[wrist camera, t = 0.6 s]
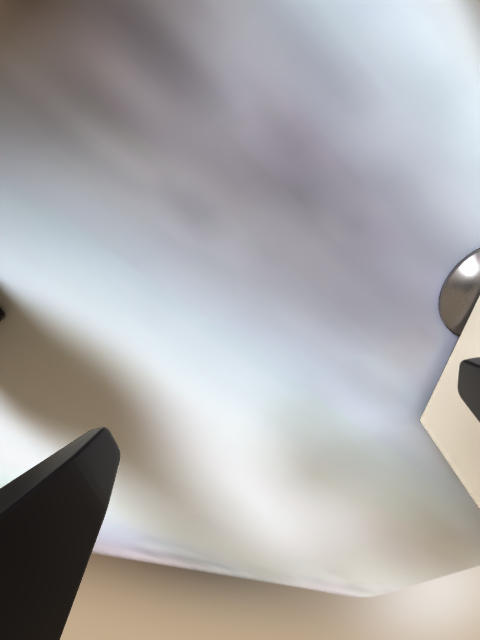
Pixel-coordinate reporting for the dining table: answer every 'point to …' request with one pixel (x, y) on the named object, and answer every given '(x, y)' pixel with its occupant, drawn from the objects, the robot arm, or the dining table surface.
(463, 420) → the lever
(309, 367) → the dining table surface
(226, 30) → the dining table surface
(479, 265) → the pivot plate
